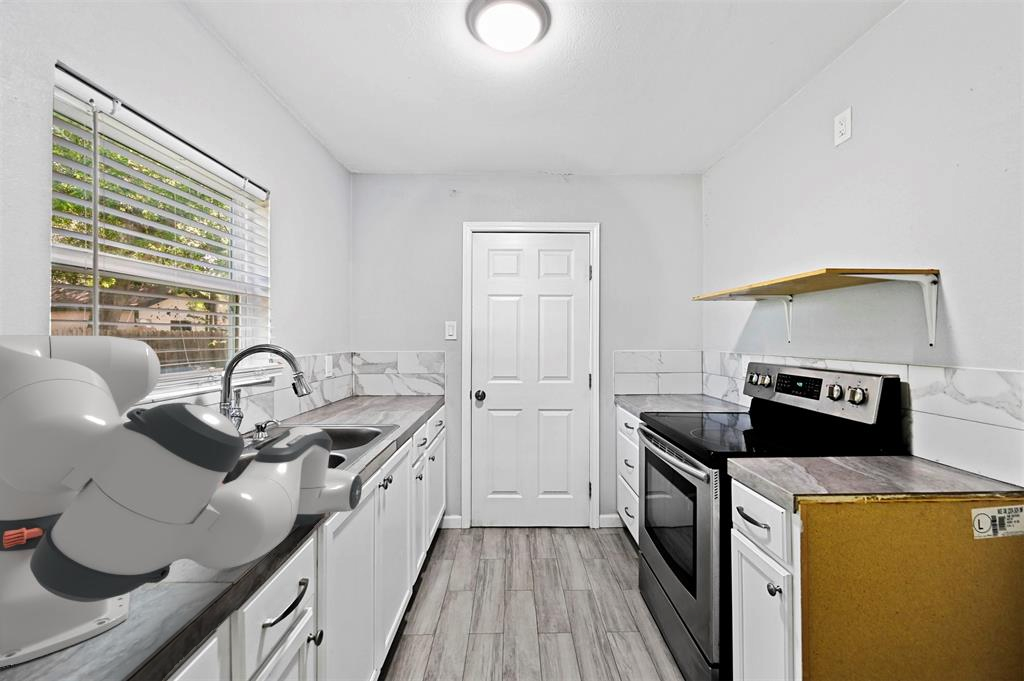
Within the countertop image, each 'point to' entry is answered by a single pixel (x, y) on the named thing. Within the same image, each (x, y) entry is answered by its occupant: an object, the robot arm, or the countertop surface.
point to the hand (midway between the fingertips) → (238, 482)
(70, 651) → the countertop surface
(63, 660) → the countertop surface
